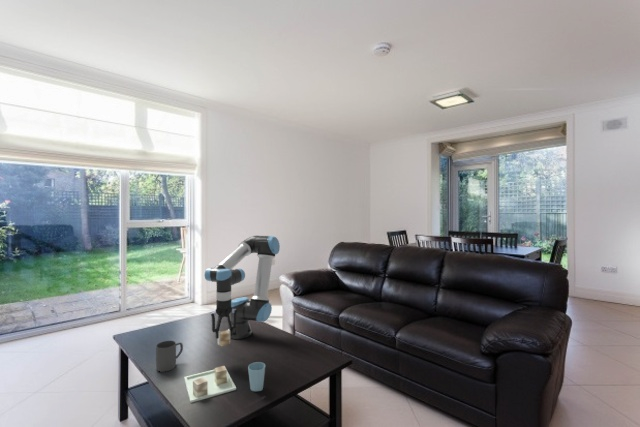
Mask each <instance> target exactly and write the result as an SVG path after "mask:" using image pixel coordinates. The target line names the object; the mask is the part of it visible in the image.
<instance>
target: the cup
mask: <svg viewBox="0 0 640 427" xmlns="http://www.w3.org/2000/svg"><path fill="white" fill-rule="evenodd" d="M247 371H248V379H249V388H250V391H252V392H261V391H263V390H264V389H263V388H264V384H265V382H264V381H265V374H266V363H264V362H261V361H256V362H252V363H250V364H248V366H247Z"/></svg>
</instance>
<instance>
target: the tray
mask: <svg viewBox="0 0 640 427" xmlns="http://www.w3.org/2000/svg"><path fill="white" fill-rule="evenodd" d="M202 377H204V378H205V379H206V380H207V381H208V395H204V396H201V397H197V398H196V397H195V396H194V395H193V381H194V380H197V379H199V378H202ZM183 379H184V380H183V381H184V384H185V388H186V390H187V396H188V398H189V402H190V404H192V403H195V402H198V401H202V400H205V399H206V400H207V399H209V398H212V397H216V396H219V395H222V394H227V393H229V392H233V391H236V390H237V387H236V385H235V383H234V381H233V379H232V377H231V375H230V373H229V372H228V371H227V383H224V384H220V385H216V383H215V368H213V369H212V370H207V371H203V372H199V373H195V374H191V375H187V376H183Z"/></svg>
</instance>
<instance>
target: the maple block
mask: <svg viewBox="0 0 640 427" xmlns="http://www.w3.org/2000/svg"><path fill="white" fill-rule="evenodd" d="M193 395H194V396H195V397H196V398H197V397H201V396H204V395H208V381H207V380H206V379H205V378H204V377H202V378H199V379H197V380H194V381H193Z"/></svg>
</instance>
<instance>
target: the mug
mask: <svg viewBox="0 0 640 427" xmlns="http://www.w3.org/2000/svg"><path fill="white" fill-rule="evenodd" d="M177 346H180V351H179V352H178V353H177ZM155 349H156V350H155V366H156V367H155V370H156V371H157V372H159V371H160V372H159V373H165V371H166V372H169V371H172V370H174V369H175V368H176V366H177V359H178V358H179V357H180V356H181V354H182V352H183V350H184V344H183V342H176V341H174V340H165V341H161V342H159V343H157V344H156V347H155Z"/></svg>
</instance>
